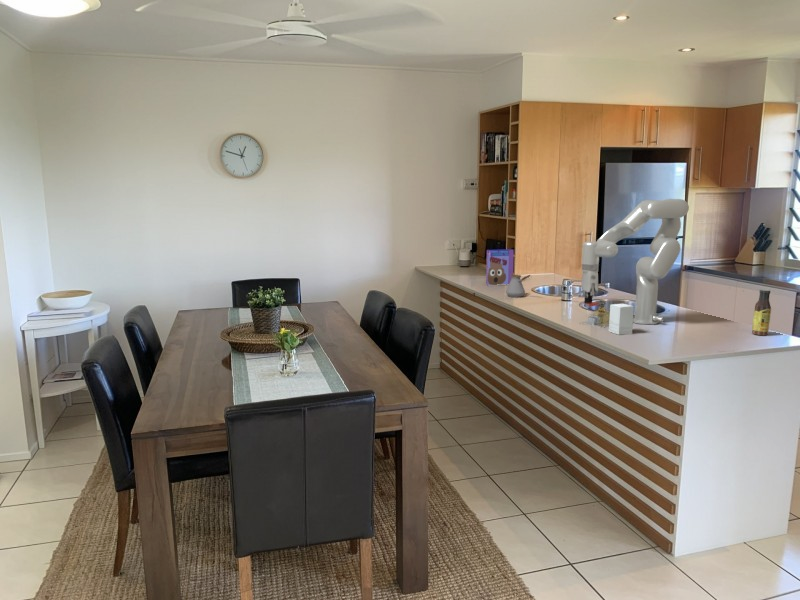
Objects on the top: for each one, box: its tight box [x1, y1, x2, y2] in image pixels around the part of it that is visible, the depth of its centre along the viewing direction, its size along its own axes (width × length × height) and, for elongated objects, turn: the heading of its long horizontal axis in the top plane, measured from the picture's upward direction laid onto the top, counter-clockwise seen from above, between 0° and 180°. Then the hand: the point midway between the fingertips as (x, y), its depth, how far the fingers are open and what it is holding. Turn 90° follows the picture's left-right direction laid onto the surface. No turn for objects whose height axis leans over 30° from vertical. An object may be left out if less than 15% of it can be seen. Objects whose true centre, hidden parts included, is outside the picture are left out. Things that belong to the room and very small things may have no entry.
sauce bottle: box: [751, 289, 772, 336], centre depth 263 cm, size 7×6×20 cm
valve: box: [578, 306, 610, 329], centre depth 289 cm, size 12×19×8 cm, turn 130°
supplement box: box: [608, 303, 635, 336], centre depth 268 cm, size 7×7×13 cm
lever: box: [584, 299, 607, 308], centre depth 285 cm, size 13×3×3 cm, turn 125°
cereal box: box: [485, 248, 515, 286], centre depth 406 cm, size 17×5×24 cm, turn 104°
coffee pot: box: [505, 274, 533, 298], centre depth 357 cm, size 21×12×15 cm, turn 21°
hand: (588, 305), depth 287 cm, fingers closed
